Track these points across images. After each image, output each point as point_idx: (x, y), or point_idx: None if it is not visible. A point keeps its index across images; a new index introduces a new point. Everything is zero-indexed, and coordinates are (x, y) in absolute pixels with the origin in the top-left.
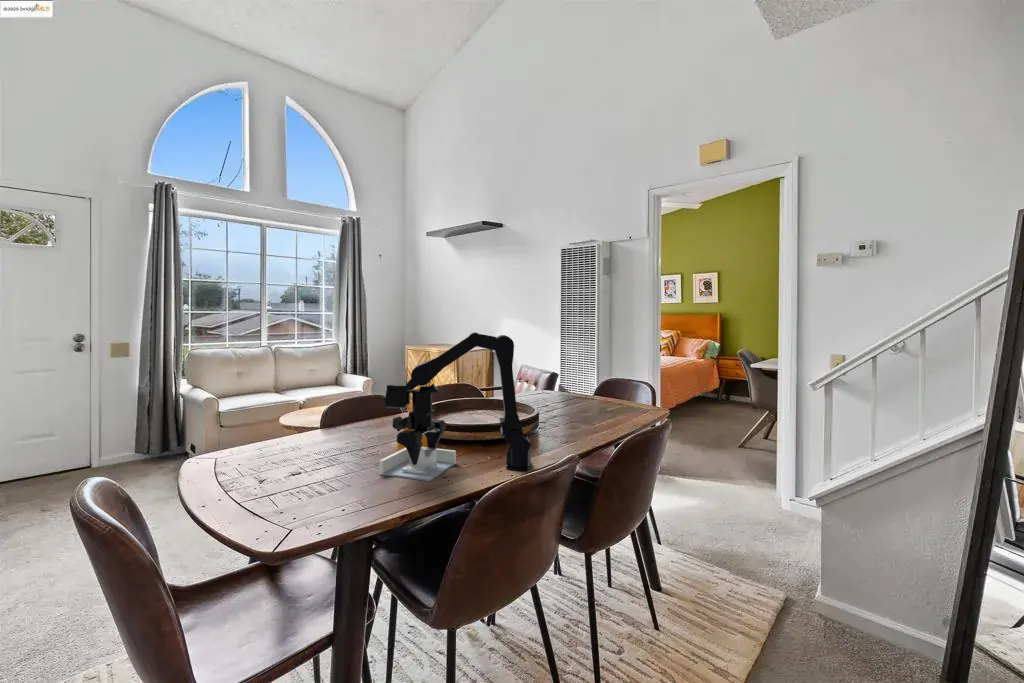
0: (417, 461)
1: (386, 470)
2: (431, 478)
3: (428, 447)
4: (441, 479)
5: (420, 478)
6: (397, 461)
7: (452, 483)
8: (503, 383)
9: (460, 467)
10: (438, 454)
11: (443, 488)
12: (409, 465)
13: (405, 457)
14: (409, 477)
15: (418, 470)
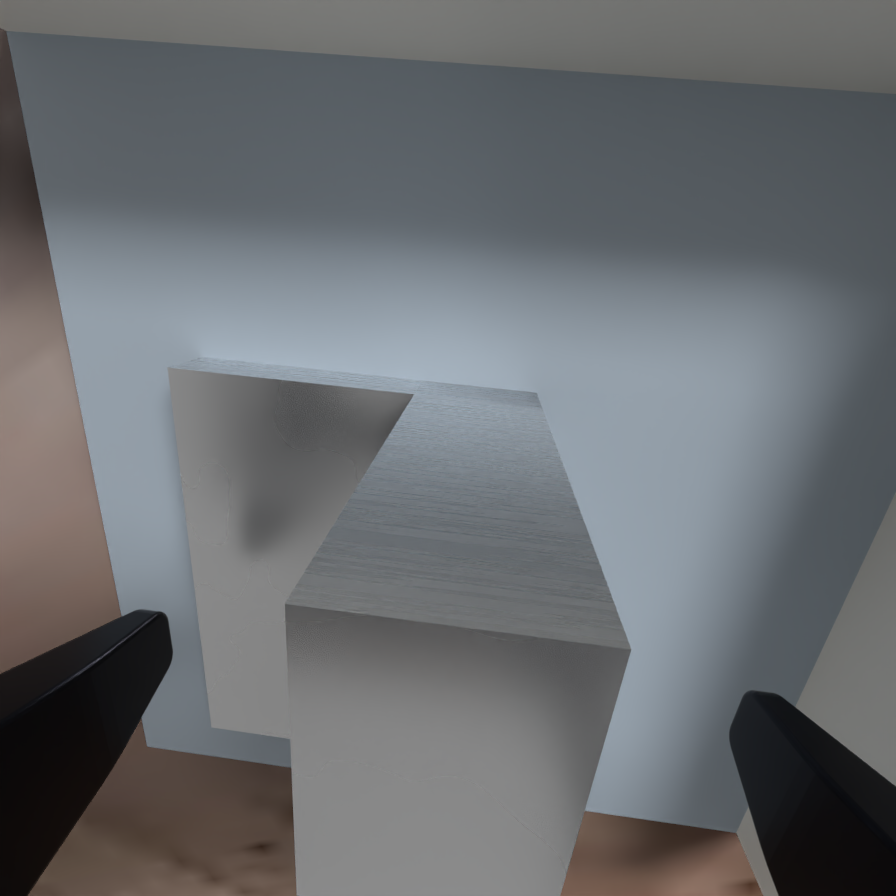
0: (134, 727)
1: (101, 29)
2: (185, 750)
3: (887, 869)
4: (253, 798)
5: None
6: (494, 28)
7: (209, 879)
8: None
9: (635, 869)
10: (892, 763)
11: (85, 848)
12: (362, 419)
13: (879, 53)
14: (113, 529)
15: (214, 629)
